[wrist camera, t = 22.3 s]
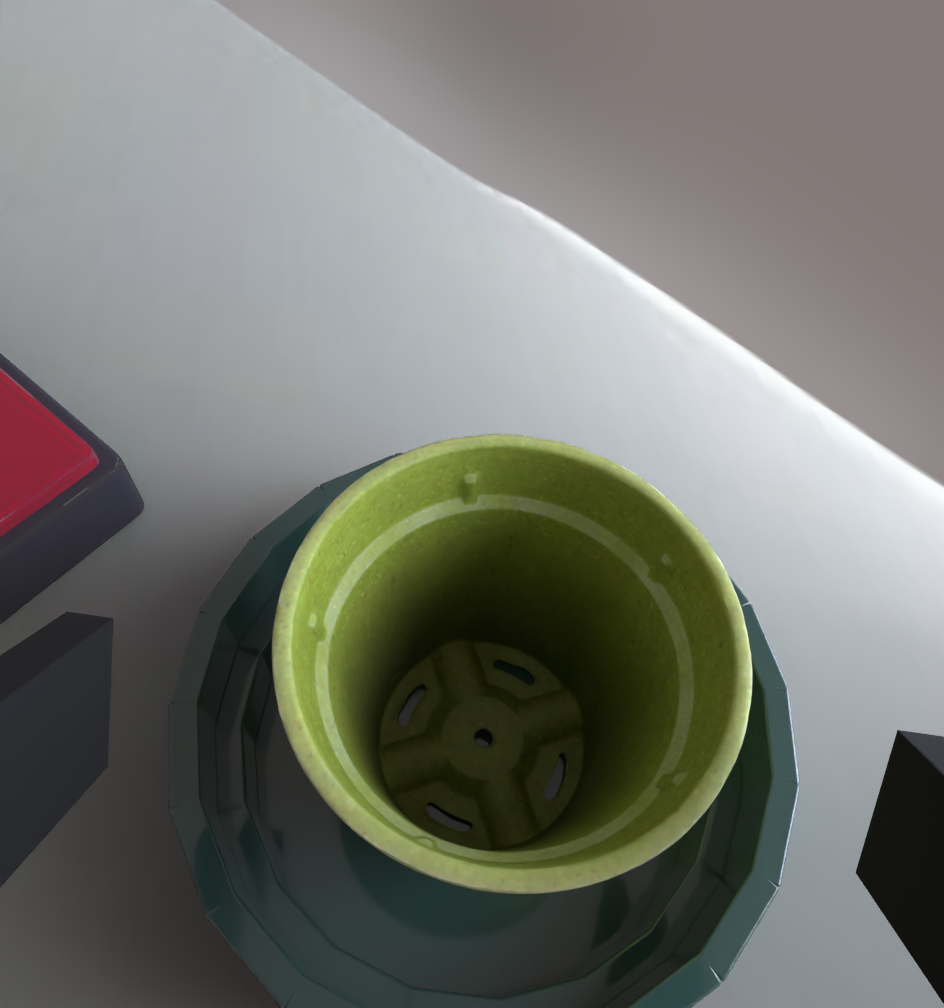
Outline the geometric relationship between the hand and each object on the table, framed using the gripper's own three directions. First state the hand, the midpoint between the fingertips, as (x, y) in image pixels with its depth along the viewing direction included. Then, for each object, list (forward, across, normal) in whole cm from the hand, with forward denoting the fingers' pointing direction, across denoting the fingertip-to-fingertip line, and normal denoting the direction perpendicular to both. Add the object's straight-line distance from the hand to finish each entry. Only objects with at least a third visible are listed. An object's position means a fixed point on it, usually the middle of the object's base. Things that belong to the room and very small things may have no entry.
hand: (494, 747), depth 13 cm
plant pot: (+9, 0, -5) cm, 10 cm away
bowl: (+9, 0, -5) cm, 11 cm away
